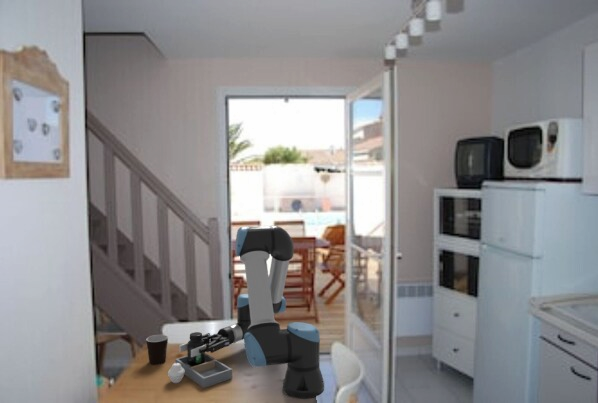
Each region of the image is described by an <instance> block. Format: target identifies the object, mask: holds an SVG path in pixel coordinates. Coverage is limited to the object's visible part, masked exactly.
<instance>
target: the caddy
mask: <svg viewBox="0 0 598 403" xmlns="http://www.w3.org/2000/svg"><path fill="white" fill-rule="evenodd" d="M174 363H180V364H181V367H182V368H183V369H184V370H185V373H184V376H186V377H187V378H189V379H190V380H192V381H194V382H195V383H196V384H197V385H199V386H200V387H202V388H203V389H205V388H208V387H210V386H214V385H217V384H219V383H222V382H225V381H228V380H231V379H233V368H231V367H229V366H228V365H226V364H225V363H222V362H221V361H219V360H217V359H216V358H214V357H213V356H211V355H210V354H208V353H207V352H205V363H203V364H200V365H196V366H189V365H188V361H187V355H184V356H182V357H178V358H175V362H174Z"/></svg>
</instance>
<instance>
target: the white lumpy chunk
mask: <svg viewBox="0 0 598 403" xmlns="http://www.w3.org/2000/svg"><path fill="white" fill-rule="evenodd" d="M184 373H185V370H184V369H183V368H182V367H181V364H180V363H175V362H174V363H173V364H172V365H171V367H170V369H169V370H168V371H167V375H168V377H169V380H170V381H171V382H172V384H179V383H180V382H182V379H183V377H184V376H185V374H184Z"/></svg>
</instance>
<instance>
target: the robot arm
mask: <svg viewBox="0 0 598 403" xmlns="http://www.w3.org/2000/svg"><path fill="white" fill-rule="evenodd" d="M235 237H236V238H235V247H234V248H235V250H234V251H235V256H236V257H238V258H240V259H239V260H240V263H243V264H244V272H245V279H246V288H247V293H242V294H240V295H238V296H237V299H236V300H237V302H236V304H237V305H236V308H237V310H236V312H237V313H236V315H237V316H236V317H237V318H236V320H237V321H236V322H237V323H233V324H231V325H228V326H226V327H222V328H220V329H219V330H218V332H217V333H213V334H211V333H210V332H207V333H205V334H202V339H203V340H204V342H205V345H203V346H200V347H197V348H195V349H192V350H191V357H194V356H197V355H199V354H202V353H204V352H205V353H209V352H210V353H211V354H212V353H213V354H214V352H218V351H219V350H222V349H224V348H226V347H229V346H230V345H233V344H236V343H237V342H239V341H243V342H244V343H243V344H244V349H245V350H244V351H245V354H246V357H247V360H248V362H249V365H251V366H252V367H254V368H260V367H263V368H265V367H268V366H269V367H270V366H277V365H283V364H284V365H285V364H287V367H286V370H285V375H284V378H283V380H282V391H283V392H284V394H286V395H288V397H292V398H296V399H310V398H315V397H316V398H317V397H318V396H320V395H322V393H324V391H325V380H324V378H323V374H322V371H321V368H320V367H321V366H320V346H321V344H320V342H321V339H320V330H319V329H318V327H317V326H315V325H313V324H310V323H307V322H302V321H301V322H300V321H294V322H289V323H288V324H287V325H286V328H284V329H281V326H280V322H278V321H277V320H275V315H278V314H281V313H284V312H286V309H287V302H286V298H285V297H284V296H283V295H284V291H285V285H286V280H287V276H288V270H289V264H290V260H292V258H293V256H294V251H295V250H294V249H295V247H294V246H295V245H294V243H293V239H292V236H291V235H290V234H289V233H288V231H287V230H285V229H284V228H282V227H281V226H278V225H263V226H261V225H260V226H259V225H254V226H251V225H248V226H241V227H239V228H238V229H237V231H236V236H235ZM270 256H271V261H270V268H269V270H268V263H267V261H268V260H269V259H270ZM187 343H188V342H185V343H183V344H180V345H178V349H179V353H183V352H185V351H187Z"/></svg>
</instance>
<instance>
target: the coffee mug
mask: <svg viewBox="0 0 598 403" xmlns="http://www.w3.org/2000/svg"><path fill="white" fill-rule="evenodd" d="M168 339H169V337H168V335H167V334H153V335H150V336H148V337H147V338H146V339H145V340H146V348H147V355H148V361H149V364H150V365H152V366H158V365H162V364H164V363H165V362H166V360H167V349H168V343H169V342H168V341H169V340H168Z"/></svg>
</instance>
